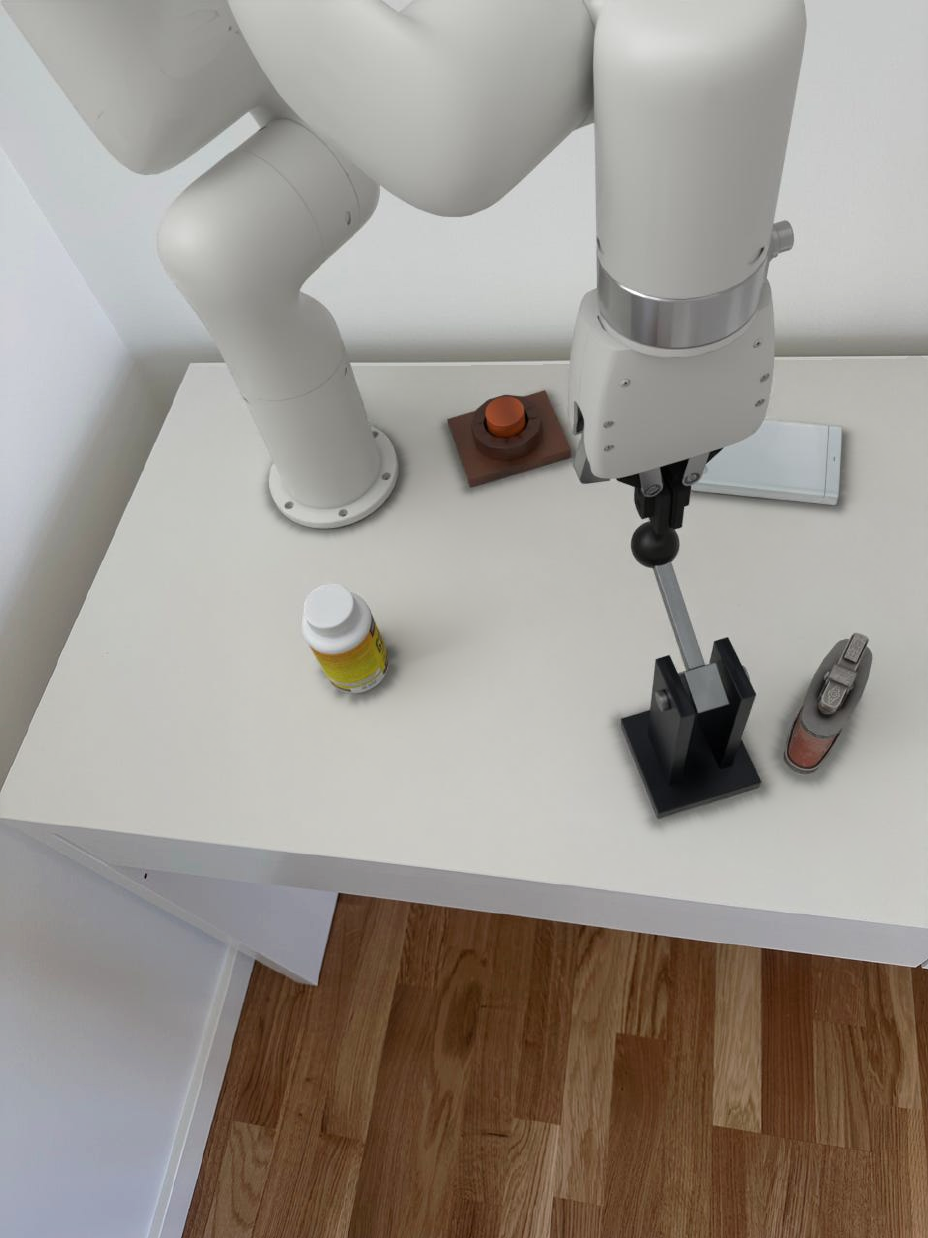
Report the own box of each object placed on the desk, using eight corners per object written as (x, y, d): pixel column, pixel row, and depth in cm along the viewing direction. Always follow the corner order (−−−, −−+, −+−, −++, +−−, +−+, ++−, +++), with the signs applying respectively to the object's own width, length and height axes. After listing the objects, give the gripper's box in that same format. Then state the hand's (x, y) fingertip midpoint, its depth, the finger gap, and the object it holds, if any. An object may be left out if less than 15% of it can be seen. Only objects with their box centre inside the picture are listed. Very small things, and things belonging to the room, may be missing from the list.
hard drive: (690, 481, 81) (839, 495, 78) (701, 411, 85) (843, 422, 82) (689, 492, 82) (835, 507, 80) (699, 423, 86) (839, 434, 83)
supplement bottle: (401, 677, 77) (375, 616, 68) (341, 707, 76) (307, 649, 67) (375, 627, 80) (347, 562, 71) (317, 655, 79) (282, 593, 70)
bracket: (620, 725, 72) (623, 642, 60) (716, 695, 72) (738, 607, 61) (657, 819, 68) (668, 750, 56) (759, 788, 68) (792, 712, 56)
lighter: (817, 782, 68) (848, 729, 59) (773, 761, 69) (797, 706, 61) (857, 695, 71) (892, 633, 62) (814, 677, 72) (843, 613, 63)
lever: (620, 533, 63) (628, 523, 59) (665, 519, 63) (675, 509, 60) (680, 716, 61) (691, 716, 58) (725, 702, 61) (739, 701, 58)
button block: (469, 487, 86) (465, 467, 83) (448, 427, 90) (444, 405, 87) (571, 457, 86) (570, 436, 84) (545, 398, 90) (544, 376, 88)
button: (493, 442, 85) (491, 430, 83) (482, 415, 87) (480, 402, 85) (530, 431, 85) (529, 419, 83) (519, 404, 87) (517, 391, 85)
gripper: (796, 183, 44) (748, 437, 60) (501, 271, 44) (530, 503, 60) (872, 280, 40) (799, 525, 56) (548, 378, 40) (566, 596, 56)
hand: (660, 513), depth 58 cm, fingers closed
